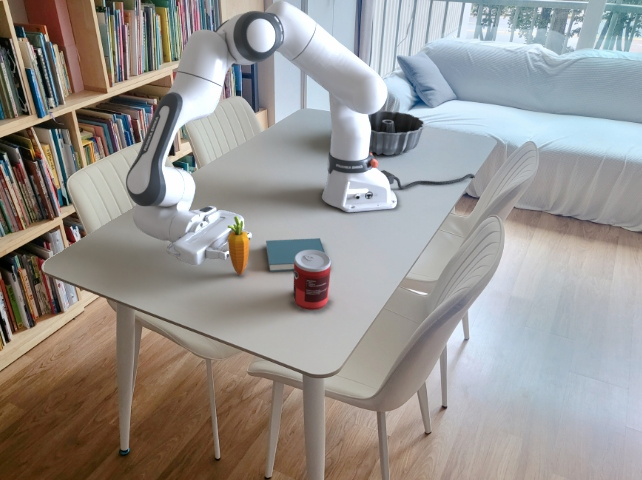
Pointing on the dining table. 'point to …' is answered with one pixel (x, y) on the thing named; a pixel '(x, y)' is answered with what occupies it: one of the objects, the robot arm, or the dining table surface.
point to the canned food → (311, 279)
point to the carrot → (238, 246)
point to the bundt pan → (394, 132)
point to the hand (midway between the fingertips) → (238, 246)
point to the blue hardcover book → (288, 252)
